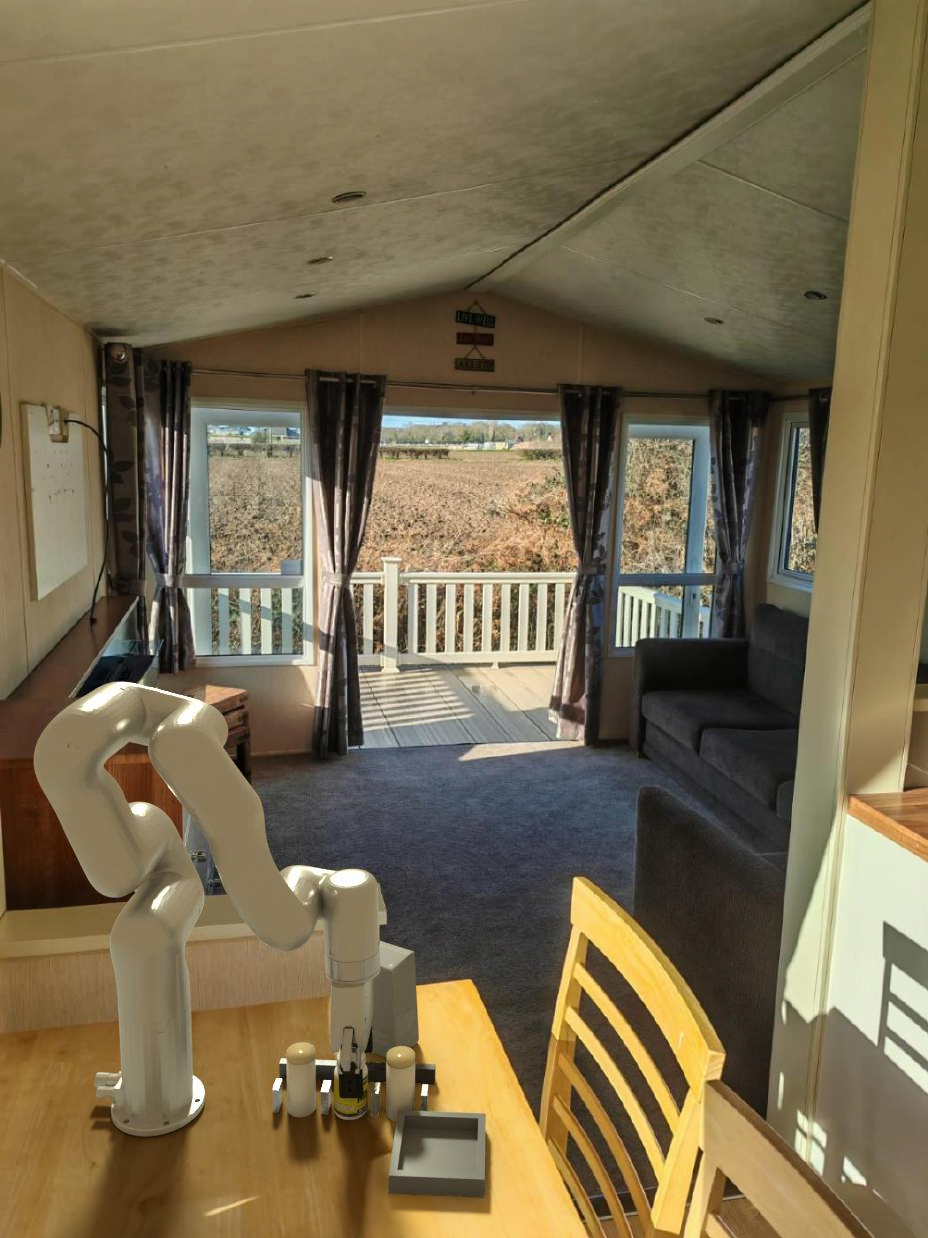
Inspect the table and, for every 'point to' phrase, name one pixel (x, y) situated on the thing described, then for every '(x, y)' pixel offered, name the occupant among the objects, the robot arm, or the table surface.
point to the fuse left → (301, 1079)
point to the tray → (438, 1154)
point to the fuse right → (400, 1081)
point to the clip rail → (375, 1074)
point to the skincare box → (395, 1000)
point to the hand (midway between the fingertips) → (356, 1073)
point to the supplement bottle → (351, 1106)
